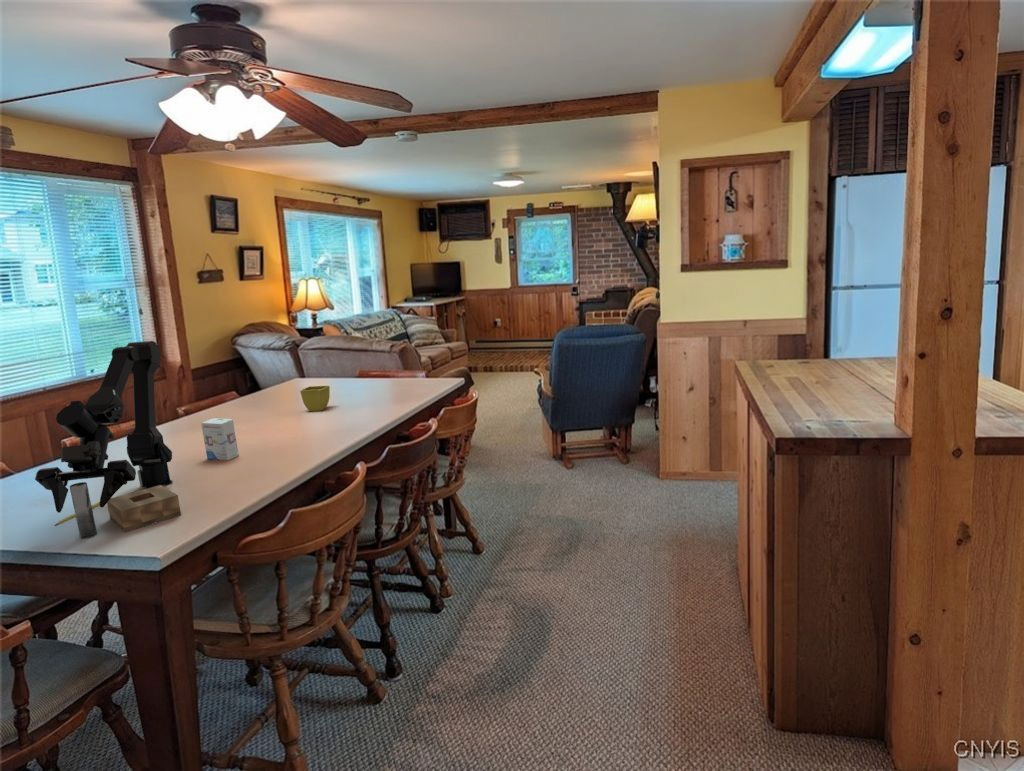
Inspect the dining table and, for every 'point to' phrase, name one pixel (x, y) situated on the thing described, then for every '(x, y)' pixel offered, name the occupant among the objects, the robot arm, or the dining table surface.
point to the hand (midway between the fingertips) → (79, 509)
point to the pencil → (75, 515)
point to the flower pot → (315, 397)
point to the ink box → (220, 439)
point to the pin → (83, 510)
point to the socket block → (143, 507)
